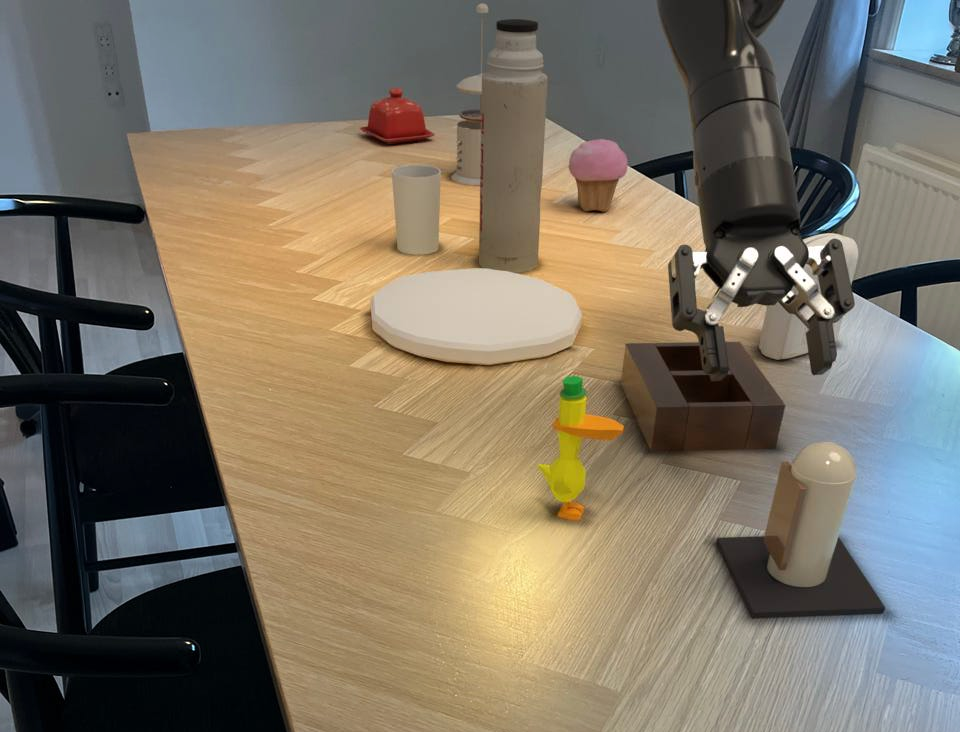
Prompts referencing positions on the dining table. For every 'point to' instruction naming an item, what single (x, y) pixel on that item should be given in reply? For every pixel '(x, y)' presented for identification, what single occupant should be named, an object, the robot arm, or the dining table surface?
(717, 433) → the box
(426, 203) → the drinking glass
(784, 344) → the photo printer
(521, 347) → the decorative plate
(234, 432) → the dining table surface
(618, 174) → the cupcake
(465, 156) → the french press
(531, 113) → the thermos bottle
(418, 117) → the butter dish
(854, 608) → the mat
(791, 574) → the dome-topped cream cylinder
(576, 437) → the toy figure
